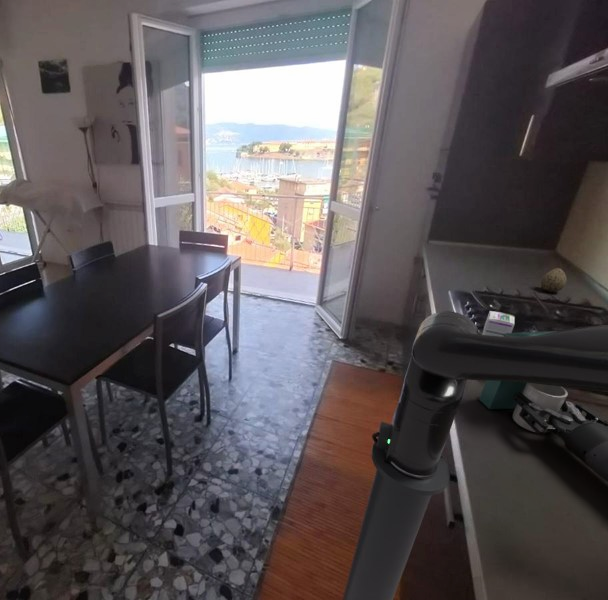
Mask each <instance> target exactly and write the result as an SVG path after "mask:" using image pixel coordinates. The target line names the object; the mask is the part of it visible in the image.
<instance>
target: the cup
mask: <svg viewBox="0 0 608 600" xmlns="http://www.w3.org/2000/svg"><path fill="white" fill-rule="evenodd" d="M522 394H523V395H524V396H526V397H527V398H528V399H529V400H530V401H532V402H533V404H535V405H537V406H539V407H541V408H548V409H550V410H553V411H555V412H559V411H560V410H561V409H560V408H561V406H562V405H563V403H564V401H566V399H567V397H568V395H569V393H568V391H567V389H566V388H565V387H561V386H552V385H543V384H534V383H527V384H526V386H525V389H524V391H523V393H522ZM521 409H522V407H520V406H519V405H518V404H517V406H516V408H514V410H513V413H512V419H513V421H514V422H515V423H516V424H517V425H518V426H520V427H521V428H523V429H526V430H527V431H530V432H533V433H537V432H536V431H535V430H534V429H533V428H531V427H530V426H529V425H528V424H527V423H526V422H525V421H524V420H523V419H522V418H521V417H520V416H519V413H520V412H521ZM534 412H535V413H536V414H538V415H540V412H539V411H537V410H534ZM559 413H560V412H559ZM528 416H529V415H528ZM549 417H550V415H549V414H547V415H546V417H545V420H546V421H548V419H549ZM545 433H547V432H545ZM545 433H544V434H545Z"/></svg>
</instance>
